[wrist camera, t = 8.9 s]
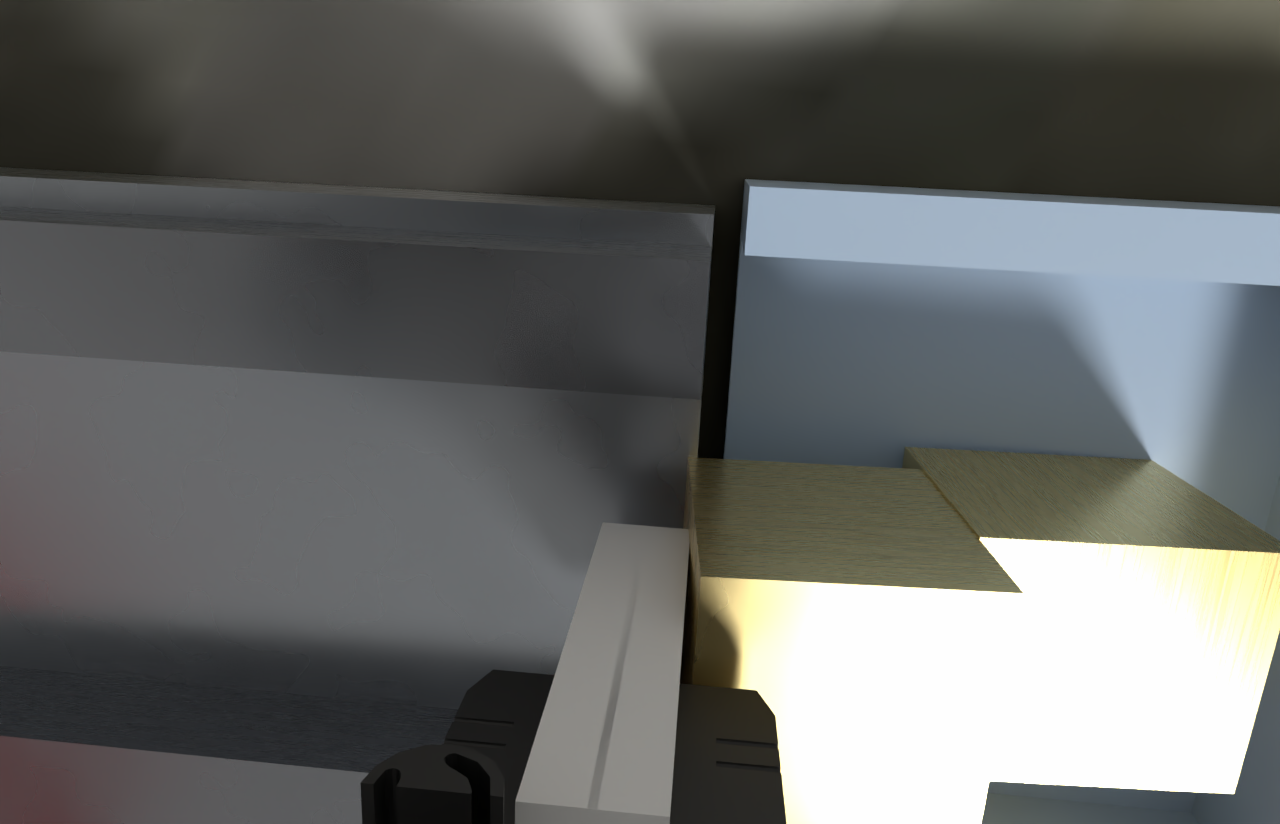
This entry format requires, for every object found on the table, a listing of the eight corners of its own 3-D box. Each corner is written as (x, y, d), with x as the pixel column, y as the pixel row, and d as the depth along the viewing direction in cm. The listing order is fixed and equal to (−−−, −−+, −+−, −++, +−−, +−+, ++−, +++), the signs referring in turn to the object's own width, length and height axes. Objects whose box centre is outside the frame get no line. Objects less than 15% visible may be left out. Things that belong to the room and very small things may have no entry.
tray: (745, 179, 17) (749, 186, 13) (1378, 211, 16) (1554, 227, 12) (698, 780, 20) (693, 904, 17) (1211, 830, 19) (1312, 971, 16)
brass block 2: (980, 537, 13) (1300, 554, 13) (905, 447, 17) (1151, 459, 17) (939, 778, 14) (1234, 794, 14) (878, 641, 18) (1108, 653, 18)
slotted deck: (-96, 162, 18) (-355, 165, 14) (715, 205, 17) (712, 224, 12) (-4, 692, 21) (-188, 829, 17) (677, 758, 20) (664, 923, 16)
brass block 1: (687, 457, 16) (701, 576, 11) (921, 469, 16) (1024, 593, 11) (673, 663, 17) (681, 843, 12) (891, 674, 17) (974, 859, 12)
